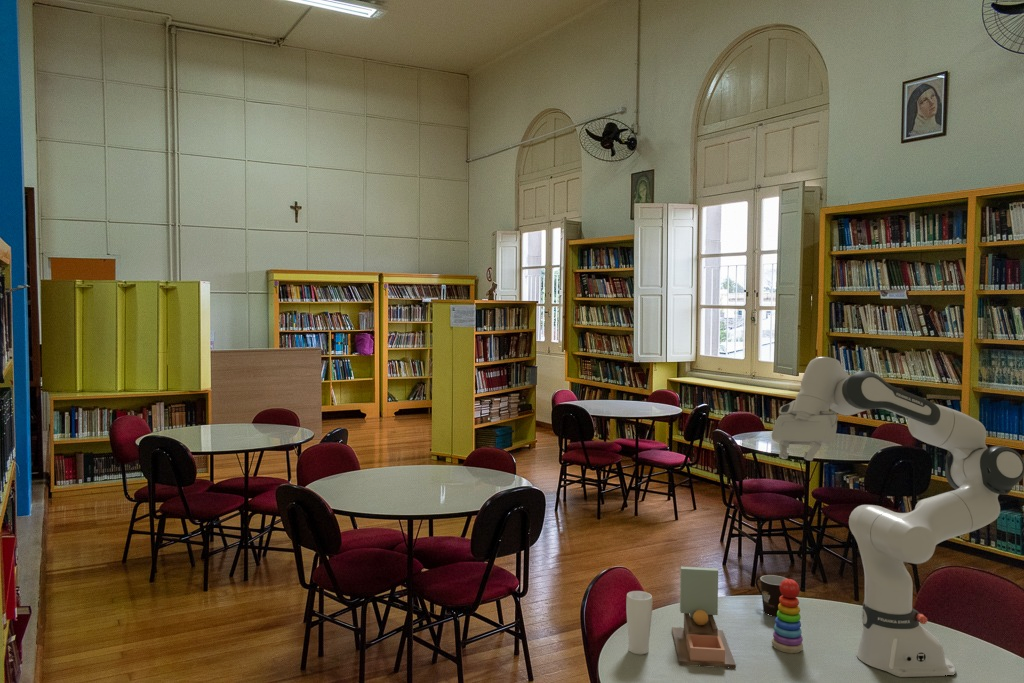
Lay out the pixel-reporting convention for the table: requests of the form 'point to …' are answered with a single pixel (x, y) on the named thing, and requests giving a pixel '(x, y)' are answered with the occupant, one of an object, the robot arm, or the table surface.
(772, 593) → the coffee mug
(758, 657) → the table surface
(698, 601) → the pale green panel
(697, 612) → the orange rubber ball
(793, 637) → the stacking toy
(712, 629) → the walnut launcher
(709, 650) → the terracotta cup
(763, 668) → the table surface
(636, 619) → the drinking glass
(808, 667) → the table surface
